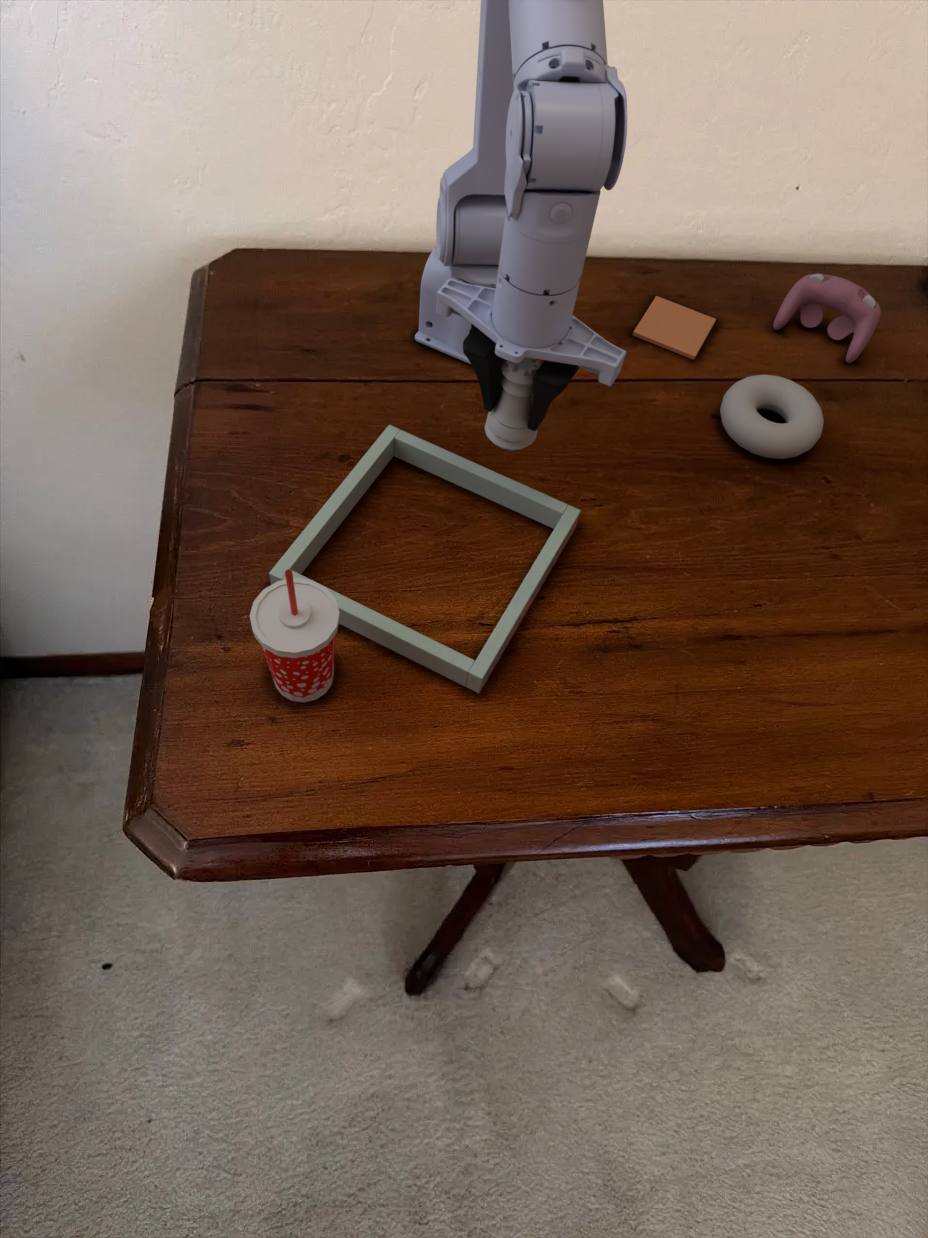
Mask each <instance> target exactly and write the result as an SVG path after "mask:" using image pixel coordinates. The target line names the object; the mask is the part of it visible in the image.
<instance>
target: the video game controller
mask: <svg viewBox="0 0 928 1238" xmlns="http://www.w3.org/2000/svg"><path fill="white" fill-rule="evenodd" d="M824 306H826V307H828V308H831V309H833V310H835V311H837V312H839V313H841V315H839V316H837V317H834V318H833V320H831V321H830V322H829V324H828V326H827V329H826V330H827V335H828V336H829V337H830V338H831V339H832V340H835V341H840V340H843V339H845V338H846V337H848V336H849V335H851V334H852V333H853V336H852V339H851V342H850V344H849V346H848V348H847V349H848V350H847V353H846V356H845V362H846V363H847V364H851V363H853V362H855V361H856V360H857V359H858V358H859V356H860V355H861V354H862V352H863V351H864V349H865V348H866V346H867V345H868V343H869V342H870V340H871V338H872V336H873V334H874V332H875V330H876V328H877V325H878V324H879V321H880V319H881V313H882V311H881V307H880V305H879V303H878V302H877V301H876V299H874V297H873V296H871V294H870V293H869V292H868V291H867V290H865V289H864V288H863V287H862V286H860V285H858V284H856V283H855V282H853V281H851V280H849V279H846V278H843V277H840V276H836V275H830V274H824V273H821V272H817V273H810V274H807V275H804V276H802V277H801V278H800V279H798V280H797V281H796V282H795V283H794V284H793V285H792V287H791V288H790V290H789V291H788V293H787V294H786V296H785V297H784V299H783V301H782V303H781V304H780V307H779V309H778V311H777V313H776V315H775V318H774V319H773V325H772V326H773V330H775V331H780V330H781V329H782V328H784V327H785V326H786V325H787V324H788V322H789V321H790V320H791V319H792V318H793V317H794V315H795V314H796V313H797V311H798V310H799V311H800V312H799V313H800V319H799V320H800V323H801V325H802V326H804V327H806V328H815V327H817V326H819V325H820V324H821V323H822V321H823V319H824V316H825V315H824V314H825V311H824Z"/></svg>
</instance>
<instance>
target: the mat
mask: <svg viewBox="0 0 928 1238" xmlns="http://www.w3.org/2000/svg"><path fill="white" fill-rule="evenodd" d="M716 320H717V318H715V317H712V316H709V315H707V314H704V313H702V312H700V311H697V310H694V309H692V308H689V307H687V306H684V305H682V304H679V303H676V302H674V301H671V300H668V299H666V298H663V297H661V296H658V295H656V296H655V297H654V299H653V300H652V302H651V303H650V305H649V306H648V308H647V309H646V312H645V313H644V314H643V315H642V318H641V319H640V321H639V322H638V324H637V325H636V327H635V329H634V330H633V332H632V336H633V337H636V338H638V339H641V340H643V341H646V342H649V343H650V344H653V345H655V346H658V347H661V348H663V349H665V350H667V351H670V352H673V353H675V354H678V355H680V356H683V357H685V358H687V359H690V360H692V361H695V359H696V357H697V355H698V353H699V352H700V350H701V348H702V347H703V345H704V343H705V341H706V340H707V338H708V335H709V334H710V333H711V330H712V329H713V327H714V325H715V323H716Z"/></svg>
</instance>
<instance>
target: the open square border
mask: <svg viewBox="0 0 928 1238" xmlns="http://www.w3.org/2000/svg"><path fill="white" fill-rule="evenodd" d="M393 457H394V458H397V459H399V460H401V461H403V462H406V463H408V464H410V465H412V466H414V467H417V468H418V469H421V470H424V471H425V472H427V473H429V474H432V475H434V476H437V477H438V478H441V479H443V480H445V481H447V482H450V483H452V484H454V485H456V486H458V487H461V488H463V489H465V490H467V491H469V492H471V493H474V494H476V495H479V496H481V497H483V498H485V499H487V500H489V501H491V502H494V503H495V504H498V505H500V506H503V507H505V508H507V509H509V510H511V511H514V512H516V513H518V514H520V515H522V516H525V517H527V518H529V519H531V520H533V521H536V522H537V523H540V524H542V525H545V527H546V526H547V527H549V528H551V529H553V530H552V532H551V534H550V535H549V537H548V539H547V540H546V542H545V543H544V545H543V547H542V548H541V550H540V552H539V553H538V555H537V557H536V558H535V560H534V562H533V563H532V565H531V567H530V568H529V570H528V572H527V573H526V575H525V577H524V578H523V580H522V582H521V583H520V585H519V587H518V589H517V590H516V591H515V594H514V595H513V597H512V598H511V601H510V602H509V603H508V605H507V607H506V609H505V610H504V612H503V613H502V615H501V617H500V619H499V620H498V622H497V624H496V626H495V627H494V629H493V631H492V632H491V634H490V636H489V637H488V638H487V640H486V642H485V643H484V645H483V647H482V649H481V651H480V652H479V654H478V655H477V657H476V659H475V660H474V659H473V658H471V657H469V656H467V655H464V654H463V653H460V652H459V651H457V650H455V649H453V648H450V647H449V646H446V645H444V644H442V643H440V642H438V641H436V640H434V639H433V638H431V637H429V636H427V635H424V634H422V633H421V632H418V631H416V630H414V629H412V628H410V627H409V626H406V625H404V624H402V623H400V622H398V621H395V620H394V619H392V618H390V617H388V616H386V615H384V614H381V613H379V612H378V611H376V610H374V609H372V608H369V607H368V606H366V605H363V604H361V603H359V602H358V601H355V600H353V599H351V598H349V597H347V596H345V595H343V594H341V593H339V592H337V591H335V590H333V589H330V588H329V587H328V586H325V587H326V588H327V589H328V590H329V591H330V592H331V594H332V595H333V596H334V597H335V598H336V601H337V605H338V609H339V612H340V616H339V624H338V625H341V626H343V627H345V628H347V629H348V630H351V631H352V632H354V633H357V634H359V635H360V636H362V637H365V638H366V639H369V640H371V641H373V642H375V643H376V644H379V645H381V646H383V647H385V648H387V649H389V650H391V651H392V652H395V653H397V654H399V655H401V656H403V657H405V658H407V659H409V660H410V661H413V662H415V663H417V664H419V665H421V666H423V667H425V668H426V669H428V670H431V671H433V672H435V673H437V674H439V675H440V676H443V677H445V678H447V679H449V680H451V681H452V682H454V683H456V684H458V685H461V686H463V687H466V688H467V689H468V690H470V691H473V692H475V693H477V694H480V693H481V691H482V690H483V688H484V686H485V684H486V683H487V681H488V680H489V678H490V677H491V674H492V673H493V670H494V669H495V668H496V666H497V664H498V662H499V661H500V659H501V657H502V656H503V654H504V652H505V650H506V648H507V647H508V645H509V644H510V642H511V640H512V638H513V637H514V635H515V633H516V632H517V630H518V628H519V626H520V624H521V623H522V621H523V620H524V617H525V616H526V614H527V613H528V611H529V609H530V607H531V605H532V604H533V602H534V600H535V598H536V597H537V595H538V593H539V591H540V590H541V588H542V586H543V585H544V583H545V581H546V579H547V578H548V576H549V575H550V573H551V571H552V569H553V568H554V566H555V564H556V562H557V561H558V559H559V557H560V555H561V554H562V552H563V550H564V549H565V547H566V545H567V544H568V542H569V540H570V539H571V537H572V535H573V533H574V531H575V530H576V527H577V524H578V521H579V518H580V514H581V512H582V511H581V509H580V508H577V507H575V506H572V505H571V504H568V503H566V502H564V501H561V500H558V499H557V498H554V497H552V496H550V495H548V494H546V493H543V492H541V491H540V490H537V489H534V488H533V487H530V486H528V485H525V484H523V483H521V482H519V481H517V480H514V479H512V478H510V477H507V476H505V475H503V474H501V473H498V472H497V471H494V470H492V469H489V468H488V467H485V466H483V465H481V464H479V463H476V462H474V461H473V460H472V461H471V460H470V459H467V458H465V457H463V456H460V455H459V454H456V453H454V452H452V451H449V450H447V449H445V448H442V447H441V446H438V445H436V444H433V443H432V442H429V441H427V440H424V439H423V438H420V437H418V436H417V435H414V434H411V433H409V432H407V431H405V430H402V429H401V428H398V427H396V426H394V425H392V424H388V426H386V427H385V429H384V430H383V431H382V433H381V434H380V435H379V436H378V438H377V439H376V440H375V441H374V443H372V445H371V446H370V448H369V449H368V450H367V451H366V452H365V453H364V455H363V456H362V457H361V458H360V459H359V461H358V462H357V463H356V465H355V466H354V467H353V468H352V470H351V471H350V472H349V473H348V475H347V476H346V477H345V479H344V480H343V481H342V482H341V483H340V484H339V486H338V487H337V488H336V489H335V491H334V492H333V493H332V494H331V495H330V497H329V498H328V499H327V501H325V503H324V505H322V506H321V508H320V509H319V510H318V512H317V513H316V514H315V515H314V516H313V518H312V519H311V520H310V522H308V524H307V525H306V526H305V528H304V529H303V530H302V531H301V533H300V534H298V536H297V538H296V539H295V540H294V541H293V542H292V544H290V546H289V548H287V551H285V553H284V554H283V555H282V556H281V558H280V559H279V560H278V561H277V562H276V563H275V565H274V566H273V567H272V568H271V570H270V571H269V572H268V575H269V576H268V577H269V581H270V585H272V584H274V583H276V582H277V581H281V580H286V576H285V571H286V570H288V569H289V570H292V573H293V578H300V579H308V580H312V579H311V578H308V577H307V576H304V575H302V574H303V573H304V571H305V570H306V569H307V568H308V566H309V565H310V564H311V562H312V561H313V560H314V558H315V557H316V556H317V555H318V553H319V552H320V551H321V550H322V548H323V547H324V545H325V544H326V543H328V541H329V539H331V537H332V535H333V534H334V533H335V532H336V530H338V528H339V527H340V526H341V524H342V523H343V521H344V520H345V519H346V518H347V516H348V515H349V514H350V513H351V511H352V510H353V509H354V507H355V506H356V505H357V504H358V502H359V501H360V500H361V498H362V497H363V496H364V494H365V493H366V492H367V491H368V490H369V488H370V487H371V485H372V484H373V483H374V482H375V480H376V479H377V478H378V477H379V476H380V474H381V473H382V471H383V470H384V469H385V468H386V466H387V465H388V464H389V463H390V462H391V460H392V459H393Z"/></svg>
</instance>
